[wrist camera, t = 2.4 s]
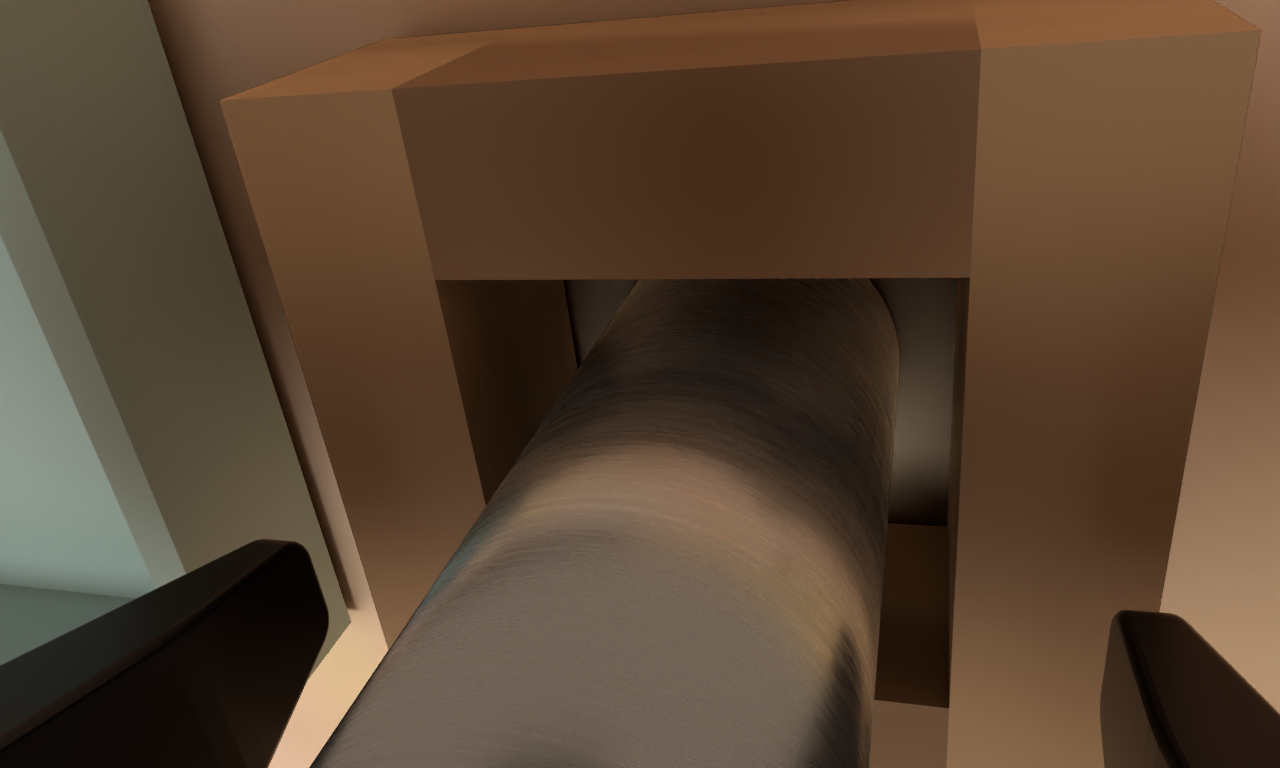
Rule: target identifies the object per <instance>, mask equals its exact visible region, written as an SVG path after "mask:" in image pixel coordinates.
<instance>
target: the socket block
mask: <svg viewBox="0 0 1280 768" xmlns="http://www.w3.org/2000/svg"><path fill="white" fill-rule="evenodd" d="M1260 35H1261V30H1260V29H1258V28H1257V27H1255V26H1254V25H1252V24H1250V23H1249V22H1247V21H1245V20H1244V19H1242V18H1240V17H1239V16H1237V15H1236V14H1234V13H1232V12H1231V11H1229V10H1227V9H1226V8H1224V7H1223V6H1221V5H1219V4H1218V3H1216V2H1214V1H1213V0H848V1H836V2H824V3H812V4H800V5H788V6H776V7H764V8H753V9H741V10H729V11H717V12H705V13H693V14H681V15H669V16H657V17H645V18H633V19H621V20H609V21H597V22H586V23H574V24H562V25H550V26H538V27H526V28H514V29H502V30H490V31H478V32H466V33H454V34H442V35H430V36H418V37H407V38H395V39H384V40H381V41H378V42H376V43H373V44H370V45H367V46H365V47H362V48H359V49H357V50H354V51H351V52H349V53H346V54H343V55H340V56H338V57H335V58H332V59H330V60H327V61H324V62H322V63H319V64H316V65H313V66H311V67H308V68H305V69H303V70H300V71H297V72H295V73H292V74H289V75H286V76H284V77H281V78H278V79H276V80H273V81H270V82H268V83H265V84H262V85H259V86H257V87H254V88H251V89H249V90H246V91H243V92H241V93H238V94H235V95H232V96H230V97H227V98H224V99H222V100H219V103H220V106H221V109H222V112H223V116H224V119H225V122H226V125H227V128H228V132H229V135H230V138H231V141H232V145H233V148H234V151H235V154H236V158H237V161H238V164H239V167H240V171H241V174H242V177H243V180H244V183H245V187H246V190H247V193H248V196H249V200H250V203H251V206H252V209H253V213H254V216H255V219H256V222H257V226H258V229H259V232H260V235H261V238H262V242H263V245H264V248H265V251H266V255H267V258H268V261H269V264H270V268H271V271H272V274H273V277H274V281H275V284H276V287H277V290H278V293H279V297H280V300H281V303H282V306H283V310H284V313H285V316H286V319H287V323H288V326H289V329H290V332H291V336H292V339H293V342H294V345H295V348H296V352H297V355H298V358H299V361H300V365H301V368H302V371H303V374H304V378H305V381H306V384H307V387H308V391H309V394H310V397H311V400H312V403H313V407H314V410H315V413H316V416H317V420H318V423H319V426H320V429H321V433H322V436H323V439H324V442H325V446H326V449H327V452H328V455H329V458H330V462H331V465H332V468H333V471H334V475H335V478H336V481H337V484H338V488H339V491H340V494H341V497H342V501H343V504H344V507H345V510H346V513H347V517H348V520H349V523H350V526H351V530H352V533H353V536H354V539H355V543H356V546H357V549H358V552H359V556H360V559H361V562H362V565H363V568H364V572H365V575H366V578H367V581H368V585H369V588H370V591H371V594H372V598H373V601H374V604H375V607H376V611H377V614H378V617H379V620H380V623H381V627H382V630H383V633H384V636H385V640H386V643H387V646H388V649H390V647H391V646H392V645H393V643H394V642H395V640H396V639H397V637H398V636H399V634H400V633H401V631H402V630H403V628H404V627H405V625H406V624H407V622H408V621H409V619H410V618H411V616H412V615H413V613H414V612H415V610H416V609H417V607H418V606H419V605H420V603H421V602H422V600H423V599H424V597H425V596H426V594H427V593H428V591H429V590H430V588H431V587H432V585H433V584H434V582H435V581H436V579H437V578H438V576H439V575H440V573H441V572H442V570H443V569H444V567H445V566H446V564H447V563H448V562H449V560H450V559H451V557H452V556H453V554H454V553H455V551H456V550H457V548H458V547H459V545H460V544H461V542H462V541H463V539H464V538H465V536H466V535H467V533H468V532H469V530H470V529H471V527H472V526H473V524H474V523H475V522H476V520H477V519H478V517H479V516H480V514H481V513H482V511H483V510H484V508H485V507H486V505H487V504H488V502H489V501H490V499H491V498H492V496H493V495H494V493H495V492H496V490H497V489H498V487H499V486H500V484H501V483H502V481H503V480H504V479H505V477H506V476H507V474H508V473H509V471H510V470H511V468H512V467H513V465H514V464H515V462H516V461H517V459H518V458H519V456H520V455H521V453H522V452H523V450H524V449H525V447H526V446H527V444H528V443H529V441H530V440H531V439H532V437H533V436H534V434H535V433H536V431H537V430H538V428H539V427H540V425H541V424H542V422H543V421H544V419H545V418H546V416H547V415H548V413H549V412H550V410H551V409H552V407H553V406H554V404H555V403H556V401H557V400H558V399H559V397H560V396H561V394H562V393H563V391H564V390H565V388H566V387H567V385H568V384H569V382H570V381H571V379H572V378H573V376H574V375H575V373H576V372H577V363H576V357H575V351H574V345H573V338H572V332H571V326H570V320H569V314H568V307H567V301H566V295H565V289H564V282H563V280H580V279H786V278H958V286H957V310H956V333H955V357H954V381H953V405H952V428H951V452H950V476H949V499H948V523H947V527H938V526H922V525H906V524H891V523H888V525H887V538H886V551H885V564H884V577H883V590H882V604H881V617H880V630H879V643H878V656H877V669H876V682H875V695H874V708H873V722H872V735H871V748H870V761H869V768H1105V767H1104V756H1103V746H1102V736H1101V725H1100V697H1101V688H1102V681H1103V674H1104V667H1105V661H1106V654H1107V647H1108V640H1109V633H1110V627H1111V622H1112V619H1113V617H1114V616H1115V614H1116V613H1117V612H1119V611H1121V610H1135V611H1148V612H1159V610H1160V604H1161V598H1162V593H1163V587H1164V581H1165V576H1166V570H1167V564H1168V558H1169V553H1170V547H1171V541H1172V536H1173V530H1174V524H1175V519H1176V513H1177V507H1178V502H1179V496H1180V490H1181V484H1182V479H1183V473H1184V467H1185V462H1186V456H1187V450H1188V445H1189V439H1190V433H1191V428H1192V422H1193V416H1194V410H1195V405H1196V399H1197V393H1198V388H1199V382H1200V376H1201V371H1202V365H1203V359H1204V354H1205V348H1206V342H1207V336H1208V331H1209V325H1210V319H1211V314H1212V308H1213V302H1214V297H1215V291H1216V285H1217V279H1218V274H1219V268H1220V262H1221V257H1222V251H1223V245H1224V240H1225V234H1226V228H1227V223H1228V217H1229V211H1230V205H1231V200H1232V194H1233V188H1234V183H1235V177H1236V171H1237V166H1238V160H1239V154H1240V149H1241V143H1242V137H1243V131H1244V126H1245V120H1246V114H1247V109H1248V103H1249V97H1250V92H1251V86H1252V80H1253V75H1254V69H1255V63H1256V57H1257V52H1258V46H1259V40H1260Z"/></svg>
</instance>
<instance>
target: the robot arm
mask: <svg viewBox="0 0 1280 768" xmlns="http://www.w3.org/2000/svg"><path fill="white" fill-rule="evenodd" d="M328 628H329V611H328V607H327V604H326V601H325V598H324V595H323V592H322V589H321V586H320V583H319V580H318V577H317V574H316V572H315V569H314V566H313V563H312V560H311V557H310V554H309V552H308V551H307V549H306V548H305V547H304V546H303V545H302V544H300V543H298V542H295V541H287V540H275V539H259V540H255V541H252V542H250V543H248V544H246V545H244V546H242V547H240V548H238V549H236V550H234V551H232V552H230V553H228V554H226V555H224V556H222V557H220V558H218V559H216V560H213V561H211V562H209V563H207V564H205V565H203V566H201V567H199V568H197V569H195V570H193V571H191V572H189V573H187V574H185V575H183V576H181V577H179V578H177V579H175V580H173V581H171V582H169V583H167V584H165V585H163V586H160V587H158V588H156V589H154V590H152V591H150V592H148V593H146V594H144V595H142V596H140V597H138V598H136V599H134V600H132V601H130V602H128V603H126V604H124V605H122V606H120V607H118V608H116V609H114V610H112V611H110V612H107V613H105V614H103V615H101V616H99V617H97V618H95V619H93V620H91V621H89V622H87V623H85V624H83V625H81V626H79V627H77V628H75V629H73V630H71V631H69V632H67V633H65V634H63V635H61V636H59V637H56V638H54V639H52V640H50V641H48V642H46V643H44V644H42V645H40V646H38V647H36V648H34V649H32V650H30V651H28V652H26V653H24V654H22V655H20V656H18V657H16V658H14V659H12V660H10V661H8V662H6V663H4V664H1V665H0V768H268V766H269V764H270V762H271V760H272V758H273V755H274V753H275V751H276V749H277V747H278V744H279V742H280V740H281V738H282V735H283V733H284V731H285V729H286V727H287V724H288V722H289V720H290V718H291V715H292V713H293V711H294V709H295V706H296V704H297V702H298V700H299V698H300V695H301V693H302V691H303V689H304V686H305V684H306V682H307V680H308V678H309V675H310V673H311V671H312V669H313V666H314V664H315V662H316V660H317V657H318V655H319V653H320V651H321V649H322V646H323V644H324V642H325V639H326V636H327V632H328ZM1100 725H1101V736H1102V746H1103V756H1104V767H1105V768H1280V714H1279V713H1278V712H1277V711H1276V710H1275V709H1274V708H1273V707H1272V706H1271V705H1270V704H1269V703H1268V702H1267V701H1266V700H1265V699H1264V698H1263V697H1262V696H1261V695H1260V694H1259V693H1258V692H1257V691H1256V690H1255V689H1254V688H1253V687H1252V686H1251V685H1250V684H1249V683H1248V682H1247V681H1246V680H1245V679H1244V678H1243V677H1242V676H1241V675H1240V674H1239V673H1238V672H1237V671H1236V670H1235V669H1234V668H1233V667H1232V666H1231V665H1230V664H1229V663H1228V662H1227V661H1226V660H1225V659H1224V658H1223V657H1222V656H1221V655H1220V654H1219V653H1218V652H1217V651H1216V650H1215V649H1214V648H1213V647H1212V646H1211V645H1210V644H1209V643H1208V642H1207V641H1206V640H1205V639H1204V638H1203V637H1202V636H1201V635H1200V634H1199V633H1198V632H1197V631H1196V630H1195V629H1194V628H1193V627H1192V626H1191V625H1190V624H1189V623H1188V622H1187V621H1185V620H1184V619H1183V618H1181V617H1179V616H1178V615H1174V614H1170V613H1160V612H1148V611H1135V610H1121V611H1119V612H1117V613H1116V614H1115V616H1114V617H1113V619H1112V622H1111V627H1110V633H1109V640H1108V647H1107V654H1106V661H1105V667H1104V674H1103V681H1102V688H1101V697H1100Z"/></svg>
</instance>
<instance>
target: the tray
mask: <svg viewBox="0 0 1280 768" xmlns="http://www.w3.org/2000/svg"><path fill="white" fill-rule="evenodd" d="M259 539H275V540H287V541H295V542H298V543H300V544H302V545H303V546H304V547H305V548H306V549H307V551H308V552H309V554H310V557H311V560H312V563H313V566H314V569H315V572H316V574H317V577H318V580H319V583H320V586H321V589H322V592H323V595H324V598H325V601H326V604H327V607H328V611H329V628H328V632H327V636H326V639H325V642H324V644H323V646H322V649H321V651H320V653H319V655H318V657H317V660H316V662H315V664H314V666H313V669H312V671H311V673H310V675H309V677H310V676H311V675H312V673H313V672H314V671H315V669H316V668H317V667H318V665H319V664H320V663H321V661H322V660H323V659H324V657H325V656H326V655H327V653H328V652H329V651H330V649H331V648H332V647H333V645H334V644H335V643H336V641H337V640H338V639H339V637H340V636H341V635H342V633H343V632H344V631H345V629H346V628H347V627H348V625H349V624H350V623H351V620H350V617H349V614H348V611H347V608H346V605H345V602H344V599H343V596H342V593H341V590H340V587H339V584H338V580H337V577H336V574H335V571H334V568H333V565H332V562H331V559H330V556H329V553H328V550H327V547H326V544H325V541H324V538H323V535H322V532H321V529H320V525H319V522H318V519H317V516H316V513H315V510H314V507H313V504H312V501H311V498H310V495H309V492H308V489H307V486H306V483H305V480H304V477H303V474H302V470H301V467H300V464H299V461H298V458H297V455H296V452H295V449H294V446H293V443H292V440H291V437H290V434H289V431H288V428H287V425H286V422H285V418H284V415H283V412H282V409H281V406H280V403H279V400H278V397H277V394H276V391H275V388H274V385H273V382H272V379H271V376H270V373H269V370H268V367H267V363H266V360H265V357H264V354H263V351H262V348H261V345H260V342H259V339H258V336H257V333H256V330H255V327H254V324H253V321H252V318H251V315H250V312H249V308H248V305H247V302H246V299H245V296H244V293H243V290H242V287H241V284H240V281H239V278H238V275H237V272H236V269H235V266H234V263H233V260H232V257H231V253H230V250H229V247H228V244H227V241H226V238H225V235H224V232H223V229H222V226H221V223H220V220H219V217H218V214H217V211H216V208H215V205H214V201H213V198H212V195H211V192H210V189H209V186H208V183H207V180H206V177H205V174H204V171H203V168H202V165H201V162H200V159H199V156H198V153H197V150H196V146H195V143H194V140H193V137H192V134H191V131H190V128H189V125H188V122H187V119H186V116H185V113H184V110H183V107H182V104H181V101H180V98H179V95H178V91H177V88H176V85H175V82H174V79H173V76H172V73H171V70H170V67H169V64H168V61H167V58H166V55H165V52H164V49H163V46H162V43H161V40H160V36H159V33H158V30H157V27H156V24H155V21H154V18H153V15H152V12H151V9H150V6H149V3H148V0H0V665H1V664H4V663H6V662H8V661H10V660H12V659H14V658H16V657H18V656H20V655H22V654H24V653H26V652H28V651H30V650H32V649H34V648H36V647H38V646H40V645H42V644H44V643H46V642H48V641H50V640H52V639H54V638H56V637H59V636H61V635H63V634H65V633H67V632H69V631H71V630H73V629H75V628H77V627H79V626H81V625H83V624H85V623H87V622H89V621H91V620H93V619H95V618H97V617H99V616H101V615H103V614H105V613H107V612H110V611H112V610H114V609H116V608H118V607H120V606H122V605H124V604H126V603H128V602H130V601H132V600H134V599H136V598H138V597H140V596H142V595H144V594H146V593H148V592H150V591H152V590H154V589H156V588H158V587H160V586H163V585H165V584H167V583H169V582H171V581H173V580H175V579H177V578H179V577H181V576H183V575H185V574H187V573H189V572H191V571H193V570H195V569H197V568H199V567H201V566H203V565H205V564H207V563H209V562H211V561H213V560H216V559H218V558H220V557H222V556H224V555H226V554H228V553H230V552H232V551H234V550H236V549H238V548H240V547H242V546H244V545H246V544H248V543H250V542H252V541H255V540H259ZM308 679H309V678H308Z"/></svg>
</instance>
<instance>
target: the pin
mask: <svg viewBox="0 0 1280 768" xmlns="http://www.w3.org/2000/svg"><path fill="white" fill-rule="evenodd" d="M899 368H900V355H899V343H898V339H897V334H896V329H895V326H894V323H893V321H892V318H891V315H890V313H889V310H888V308H887V307H886V305H885V303H884V301H883V299H882V297H881V296H880V294H879V293H878V291H877V290H876V289H875V287H874V286H873V285H872V283H871V282H870V281H869V279H868V278H786V279H639V280H638V281H637V283H636V284H635V286H634V287H633V289H632V290H631V292H630V293H629V295H628V296H627V298H626V299H625V301H624V302H623V304H622V305H621V307H620V308H619V310H618V311H617V313H616V314H615V316H614V317H613V318H612V320H611V321H610V323H609V324H608V326H607V327H606V329H605V330H604V332H603V333H602V335H601V336H600V338H599V339H598V341H597V342H596V344H595V345H594V347H593V348H592V350H591V351H590V353H589V354H588V356H587V357H586V358H585V360H584V361H583V363H582V364H581V366H580V367H579V369H578V370H577V372H576V373H575V375H574V376H573V378H572V379H571V381H570V382H569V384H568V385H567V387H566V388H565V390H564V391H563V393H562V394H561V396H560V397H559V399H558V400H557V401H556V403H555V404H554V406H553V407H552V409H551V410H550V412H549V413H548V415H547V416H546V418H545V419H544V421H543V422H542V424H541V425H540V427H539V428H538V430H537V431H536V433H535V434H534V436H533V437H532V439H531V440H530V441H529V443H528V444H527V446H526V447H525V449H524V450H523V452H522V453H521V455H520V456H519V458H518V459H517V461H516V462H515V464H514V465H513V467H512V468H511V470H510V471H509V473H508V474H507V476H506V477H505V479H504V480H503V481H502V483H501V484H500V486H499V487H498V489H497V490H496V492H495V493H494V495H493V496H492V498H491V499H490V501H489V502H488V504H487V505H486V507H485V508H484V510H483V511H482V513H481V514H480V516H479V517H478V519H477V520H476V522H475V523H474V524H473V526H472V527H471V529H470V530H469V532H468V533H467V535H466V536H465V538H464V539H463V541H462V542H461V544H460V545H459V547H458V548H457V550H456V551H455V553H454V554H453V556H452V557H451V559H450V560H449V562H448V563H447V564H446V566H445V567H444V569H443V570H442V572H441V573H440V575H439V576H438V578H437V579H436V581H435V582H434V584H433V585H432V587H431V588H430V590H429V591H428V593H427V594H426V596H425V597H424V599H423V600H422V602H421V603H420V605H419V606H418V607H417V609H416V610H415V612H414V613H413V615H412V616H411V618H410V619H409V621H408V622H407V624H406V625H405V627H404V628H403V630H402V631H401V633H400V634H399V636H398V637H397V639H396V640H395V642H394V643H393V645H392V646H391V647H390V649H389V650H388V652H387V653H386V655H385V656H384V658H383V659H382V661H381V662H380V664H379V665H378V667H377V668H376V670H375V671H374V673H373V674H372V676H371V677H370V679H369V680H368V682H367V683H366V685H365V686H364V687H363V689H362V690H361V692H360V693H359V695H358V696H357V698H356V699H355V701H354V702H353V704H352V705H351V707H350V708H349V710H348V711H347V713H346V714H345V716H344V717H343V719H342V720H341V722H340V723H339V725H338V726H337V728H336V729H335V730H334V732H333V733H332V735H331V736H330V738H329V739H328V741H327V742H326V744H325V745H324V747H323V748H322V750H321V751H320V753H319V754H318V756H317V757H316V759H315V760H314V762H313V763H312V765H311V766H310V768H869V761H870V748H871V735H872V722H873V708H874V695H875V682H876V669H877V656H878V643H879V630H880V617H881V604H882V590H883V577H884V564H885V551H886V538H887V525H888V512H889V499H890V486H891V473H892V459H893V446H894V433H895V420H896V407H897V394H898V381H899Z"/></svg>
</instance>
